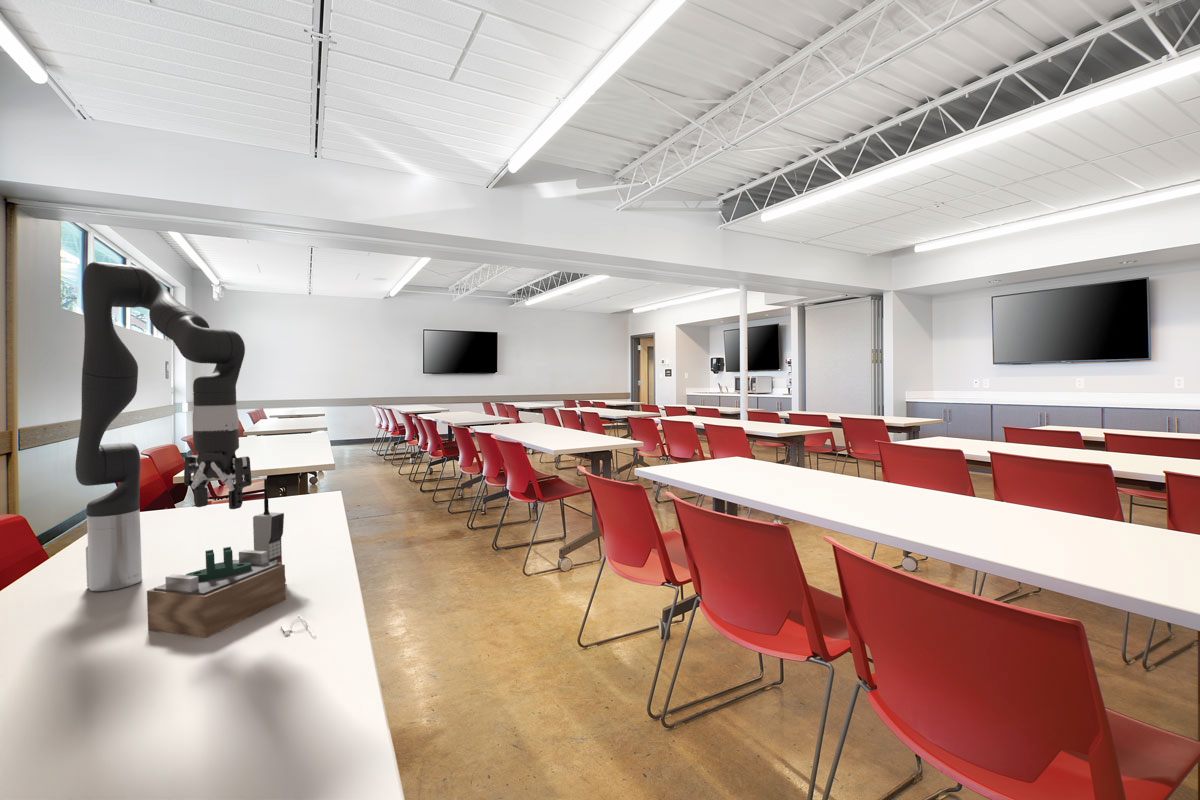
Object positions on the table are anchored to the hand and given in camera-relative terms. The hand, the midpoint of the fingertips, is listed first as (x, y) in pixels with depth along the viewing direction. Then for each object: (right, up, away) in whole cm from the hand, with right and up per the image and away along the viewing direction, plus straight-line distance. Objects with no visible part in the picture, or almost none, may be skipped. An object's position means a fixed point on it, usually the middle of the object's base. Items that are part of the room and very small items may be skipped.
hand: (218, 507), depth 108 cm
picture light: (+20, -22, -7) cm, 31 cm away
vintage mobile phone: (+1, -22, +16) cm, 27 cm away
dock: (0, -22, +1) cm, 22 cm away
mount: (0, -14, 0) cm, 14 cm away
